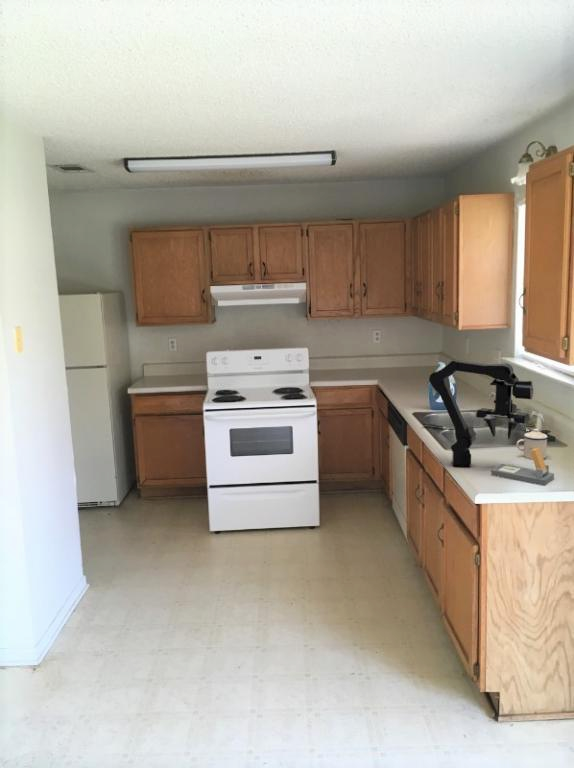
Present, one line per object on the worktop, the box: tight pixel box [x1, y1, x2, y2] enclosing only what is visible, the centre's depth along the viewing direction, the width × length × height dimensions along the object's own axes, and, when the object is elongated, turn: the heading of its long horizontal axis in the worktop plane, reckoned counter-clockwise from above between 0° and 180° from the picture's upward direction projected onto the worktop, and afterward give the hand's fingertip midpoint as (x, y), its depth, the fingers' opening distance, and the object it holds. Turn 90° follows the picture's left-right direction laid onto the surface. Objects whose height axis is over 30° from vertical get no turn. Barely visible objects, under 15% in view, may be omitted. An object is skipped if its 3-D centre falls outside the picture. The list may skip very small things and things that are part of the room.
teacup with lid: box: [515, 428, 549, 460], centre depth 257 cm, size 12×9×12 cm
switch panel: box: [490, 463, 555, 486], centre depth 232 cm, size 20×10×5 cm, turn 49°
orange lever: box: [530, 448, 547, 475], centre depth 228 cm, size 2×4×10 cm, turn 139°
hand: (501, 437), depth 239 cm, fingers open, 6 cm apart
